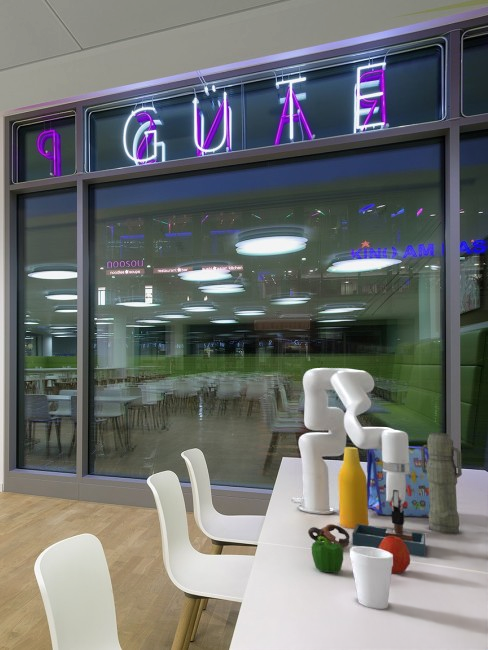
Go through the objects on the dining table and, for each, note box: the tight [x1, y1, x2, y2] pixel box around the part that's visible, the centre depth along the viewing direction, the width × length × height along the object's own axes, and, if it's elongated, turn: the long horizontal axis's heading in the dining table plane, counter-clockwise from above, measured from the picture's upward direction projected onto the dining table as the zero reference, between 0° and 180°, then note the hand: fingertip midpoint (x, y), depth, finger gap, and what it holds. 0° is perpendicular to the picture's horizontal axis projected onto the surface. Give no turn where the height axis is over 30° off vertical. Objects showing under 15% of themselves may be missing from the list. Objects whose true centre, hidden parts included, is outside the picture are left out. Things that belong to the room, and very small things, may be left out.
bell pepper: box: [311, 536, 344, 574], centre depth 179 cm, size 8×8×10 cm
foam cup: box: [349, 546, 393, 610], centre depth 155 cm, size 10×9×13 cm
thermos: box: [421, 432, 463, 535], centre depth 220 cm, size 9×12×35 cm
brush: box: [386, 524, 413, 542], centre depth 201 cm, size 7×5×12 cm
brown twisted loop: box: [307, 523, 350, 549], centre depth 200 cm, size 12×10×8 cm
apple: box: [378, 535, 411, 574], centre depth 178 cm, size 8×8×11 cm
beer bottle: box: [337, 446, 370, 530], centre depth 225 cm, size 9×9×29 cm
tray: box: [352, 524, 427, 558], centre depth 202 cm, size 20×14×4 cm
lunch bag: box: [366, 445, 430, 518], centre depth 244 cm, size 22×14×29 cm, turn 80°
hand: (398, 522), depth 201 cm, fingers closed on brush, 2 cm apart
